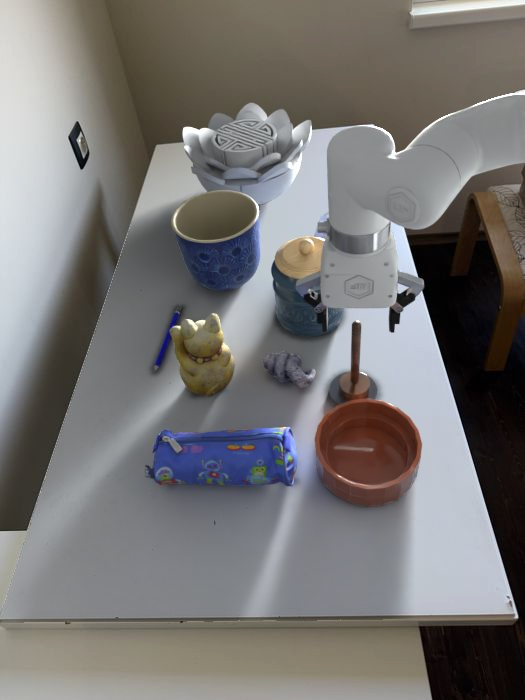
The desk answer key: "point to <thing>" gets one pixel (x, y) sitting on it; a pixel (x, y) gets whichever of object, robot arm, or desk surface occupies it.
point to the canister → (286, 270)
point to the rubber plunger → (354, 371)
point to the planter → (219, 238)
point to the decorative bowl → (248, 152)
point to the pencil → (167, 338)
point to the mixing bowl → (367, 452)
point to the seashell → (288, 368)
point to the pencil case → (225, 457)
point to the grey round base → (339, 399)
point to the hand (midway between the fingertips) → (358, 325)
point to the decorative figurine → (203, 355)
